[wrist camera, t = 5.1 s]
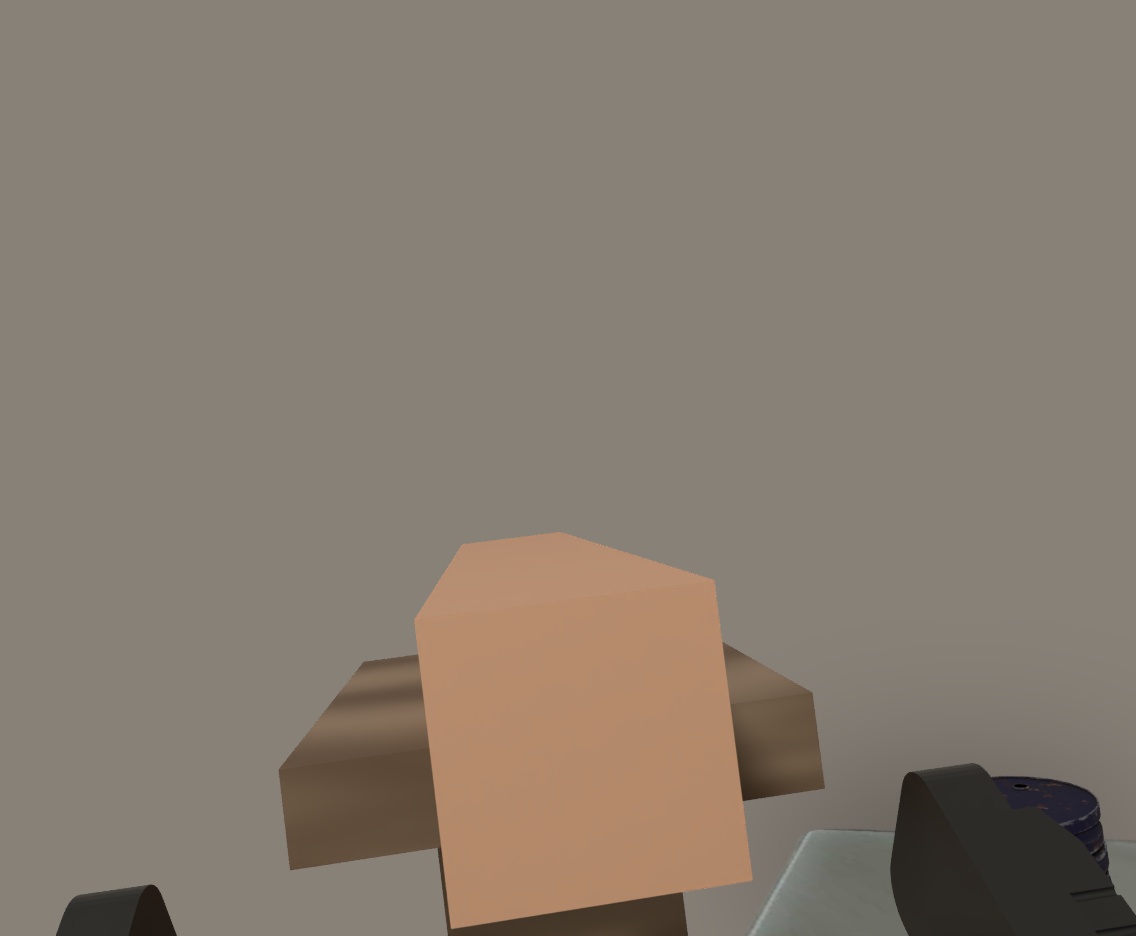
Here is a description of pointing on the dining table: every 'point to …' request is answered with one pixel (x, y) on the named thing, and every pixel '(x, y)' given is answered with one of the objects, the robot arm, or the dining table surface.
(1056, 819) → the storage jar
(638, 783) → the block
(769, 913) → the dining table surface
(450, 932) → the wooden pedestal stand
